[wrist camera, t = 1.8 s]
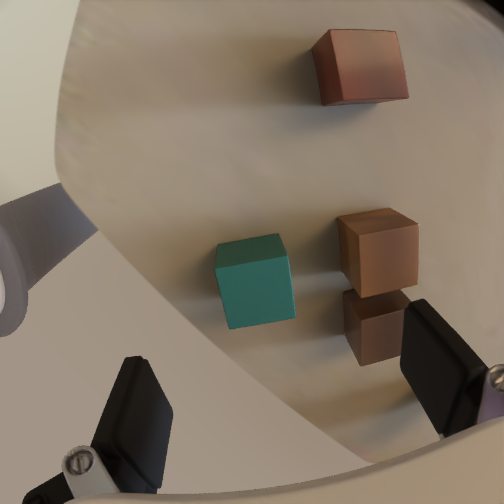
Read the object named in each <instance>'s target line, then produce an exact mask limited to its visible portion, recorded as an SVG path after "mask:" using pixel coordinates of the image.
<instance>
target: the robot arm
mask: <svg viewBox="0 0 504 504" xmlns="http://www.w3.org/2000/svg"><path fill="white" fill-rule="evenodd" d="M4 304H5V286H4V281H3V277H2V273H1V270H0V314H1V312H2V310H3V308H4ZM400 368H401V371H402V373H403V374H404V376H405V378H406V379H407V381H408V383H409V384H410V386H411V388H412V389H413V391H414V393H415V395H416V396H417V398H418V400H419V401H420V403H421V405H422V407H423V408H424V410H425V412H426V414H427V415H428V417H429V419H430V421H431V423H432V424H433V426H434V428H435V430H436V431H437V433H438V434H443V436H444V438H445V439H442V440H440V441H438V442H435V443H433V444H430V445H428V446H425V447H422V448H420V449H417V450H415V451H412V452H409V453H407V454H404V455H401V456H398V457H395V458H392V459H389V460H386V461H383V462H380V463H377V464H374V465H371V466H367V467H364V468H361V469H357V470H353V471H349V472H346V473H342V474H338V475H334V476H329V477H325V478H321V479H316V480H311V481H307V482H301V483H295V484H290V485H284V486H277V487H270V488H263V489H254V490H245V491H235V492H222V493H204V494H157V488H161V486H162V480H163V473H164V467H165V461H166V455H167V448H168V443H169V437H170V431H171V425H172V419H173V410H172V407H171V406H170V403H169V402H168V400H167V398H166V396H165V394H164V392H163V390H162V388H161V386H160V384H159V382H158V380H157V378H156V377H155V375H154V372H153V370H152V368H151V366H150V364H149V362H148V360H146V359H143V358H142V357H141V356H134V357H126V358H125V359H124V362H123V364H122V366H121V369H120V371H119V374H118V376H117V379H116V381H115V383H114V386H113V388H112V391H111V393H110V396H109V398H108V400H107V403H106V406H105V408H104V411H103V413H102V416H101V418H100V421H99V424H98V426H97V429H96V432H95V434H94V437H93V440H92V443H91V446H90V447H89V446H78V447H75V448H73V449H71V450H70V451H69V452H68V453H67V454H66V455H65V456H64V458H63V461H62V470H63V472H62V473H60V474H58V475H57V476H55V477H53V478H52V479H50V480H48V481H46V482H45V483H43V484H41V485H40V486H38V487H36V488H34V489H33V490H31V491H30V492H28V493H27V494H26V496H25V497H24V499H23V502H22V504H504V364H499V365H495V366H493V367H491V368H490V369H489V368H488V367H487V366H486V365H485V363H484V362H483V361H482V360H481V359H480V358H479V357H478V355H477V354H476V353H475V352H474V351H473V350H472V349H471V348H470V346H469V345H468V344H467V343H466V342H465V341H464V340H463V339H462V338H461V336H460V335H459V334H458V333H457V332H456V331H455V330H454V329H453V328H452V327H451V326H450V325H449V324H448V323H447V322H446V321H445V320H444V319H443V318H442V317H441V316H440V315H439V313H438V312H437V311H436V310H435V309H434V308H433V307H432V306H431V305H430V304H429V303H428V302H427V301H426V300H425V299H420V300H416V301H413V302H410V303H409V304H408V307H406V308H405V309H404V321H403V335H402V347H401V357H400Z"/></svg>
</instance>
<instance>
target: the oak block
mask: <svg viewBox="0 0 504 504" xmlns="http://www.w3.org/2000/svg"><path fill="white" fill-rule="evenodd" d="M338 228H339V239H340V252H341V266H342V272H343V273H344V275H345V276H346V278H347V279H348V280H349V282H350V283H351V285H352V286H353V287H354V289H355V290H356V292H357V293H358V295H359V296H360V297H361V298H364V297H369V296H373V295H377V294H381V293H386V292H390V291H394V290H398V289H402V288H406V287H410V286H414V285H417V284H418V267H419V224H418V223H416V222H415V221H413V220H411V219H409V218H408V217H406V216H404V215H402V214H400V213H399V212H397V211H395V210H393V209H391V208H388V209H382V210H376V211H370V212H364V213H358V214H352V215H346V216H340V217H338Z"/></svg>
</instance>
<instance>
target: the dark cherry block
mask: <svg viewBox="0 0 504 504" xmlns="http://www.w3.org/2000/svg"><path fill="white" fill-rule="evenodd" d="M312 53H313V57H314V62H315V67H316V72H317V77H318V83H319V88H320V93H321V99H322V105H323V106H335V105H348V104H363V103H381V102H387V101H394V100H401V99H408V98H409V93H408V87H407V81H406V76H405V71H404V66H403V61H402V56H401V51H400V47H399V43H398V38H397V34H396V32H395V31H384V30H360V29H329V30H328V31H327V32H326V33H325V34H324V35H323V36H322V37H321V38H320V39H319V40H318V41H317V42H316V43H315V45H314V46H313V47H312Z"/></svg>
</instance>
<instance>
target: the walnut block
mask: <svg viewBox="0 0 504 504" xmlns="http://www.w3.org/2000/svg"><path fill="white" fill-rule="evenodd" d="M343 302H344V330H345V337H346V339H347V341H348V343H349V345H350V347H351V349H352V351H353V353H354V355H355V357H356V359H357V361H358V363H359V365H360V367H361V366H365V365H369V364H372V363H376V362H379V361H383V360H386V359H390V358H393V357H397V356H400V355H401V347H402V335H403V321H404V309H405V308H406V307H408V304H409V303H410V302H411V301H410V299H409V298H408V297H407V296H406V295H405V294H404V293H403V292H402V291H401V290H400V289H398V290H394V291H390V292H386V293H381V294H377V295H373V296H369V297H364V298H361V297H360V296H359V295H358V293H357V292H356V290H355V289H352V290H348V291H344V292H343Z"/></svg>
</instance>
